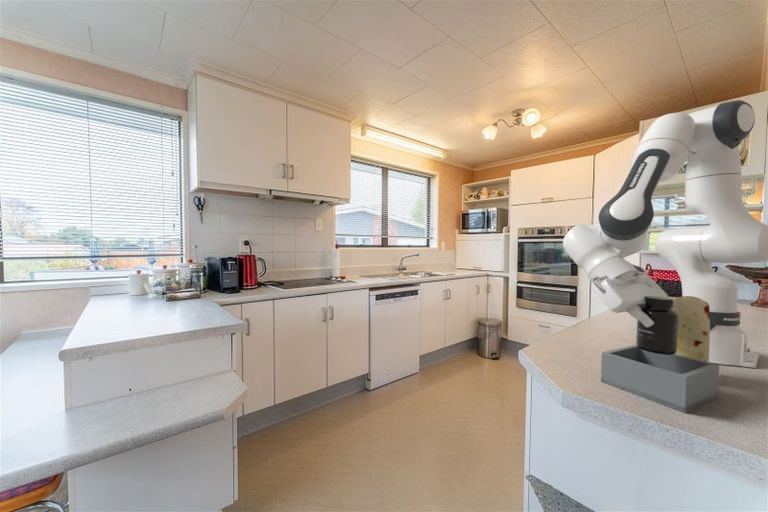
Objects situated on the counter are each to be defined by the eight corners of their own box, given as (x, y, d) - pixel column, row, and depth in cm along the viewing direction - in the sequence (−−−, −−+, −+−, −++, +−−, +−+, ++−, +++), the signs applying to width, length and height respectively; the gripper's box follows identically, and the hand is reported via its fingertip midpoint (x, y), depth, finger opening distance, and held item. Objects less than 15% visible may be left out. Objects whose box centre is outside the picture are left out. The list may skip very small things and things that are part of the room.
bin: (635, 371, 78) (635, 344, 78) (718, 397, 64) (719, 365, 64) (601, 381, 71) (601, 352, 71) (685, 413, 58) (686, 377, 58)
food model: (718, 386, 69) (721, 300, 69) (682, 382, 71) (685, 299, 71) (690, 370, 79) (692, 294, 78) (658, 367, 81) (661, 293, 80)
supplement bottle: (635, 350, 68) (637, 297, 67) (637, 343, 73) (638, 294, 72) (677, 357, 63) (680, 301, 63) (676, 350, 68) (678, 297, 68)
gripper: (599, 268, 69) (650, 320, 60) (646, 267, 78) (696, 312, 69) (579, 285, 73) (623, 336, 64) (625, 282, 82) (670, 326, 73)
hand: (661, 323), depth 67 cm, fingers closed on supplement bottle, 7 cm apart
